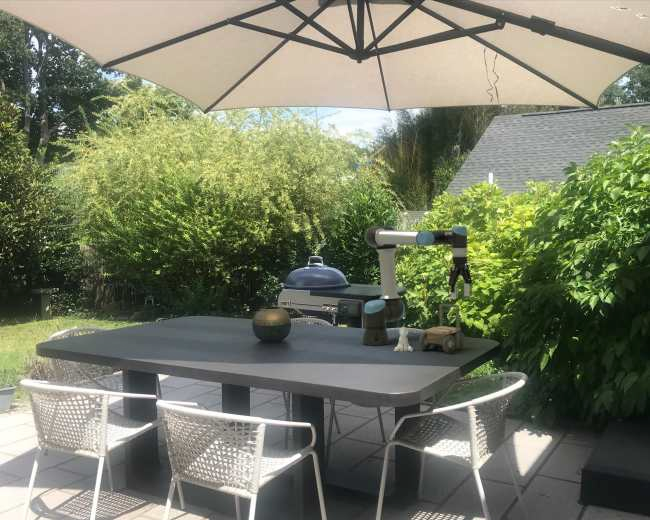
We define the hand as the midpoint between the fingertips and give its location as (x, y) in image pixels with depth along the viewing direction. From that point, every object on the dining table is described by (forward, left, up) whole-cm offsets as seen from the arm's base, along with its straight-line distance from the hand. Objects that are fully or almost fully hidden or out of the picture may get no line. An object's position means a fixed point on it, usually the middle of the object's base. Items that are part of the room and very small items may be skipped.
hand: (460, 297), depth 326 cm
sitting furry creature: (-23, -20, -27) cm, 40 cm away
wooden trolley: (-7, -8, -27) cm, 28 cm away
